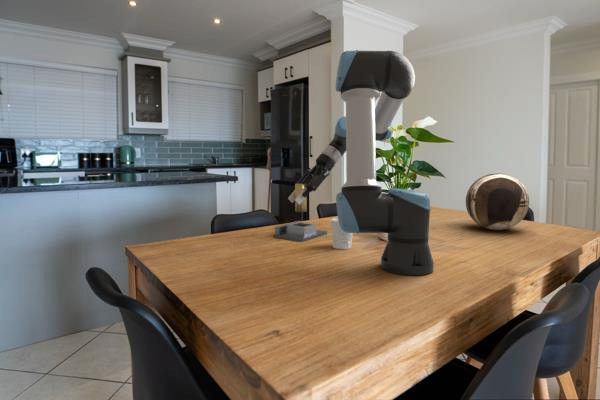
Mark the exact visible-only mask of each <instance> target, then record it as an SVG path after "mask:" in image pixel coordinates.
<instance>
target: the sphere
mask: <svg viewBox="0 0 600 400" xmlns="http://www.w3.org/2000/svg"><path fill="white" fill-rule="evenodd" d="M529 196H530V195H529V192H528V190H527V188H526V187H525V186H524V185H523V183H522V182H521V181H519V180H518V179H517V178H515V177H513V176H511V175H509V174H507V173H506V174H505V173H497V172H496V173H488V174H486V175H484V176H481V177H479V178H478V179H476V180H475V181H473V183H472V184H471V185H470V186H469V189H468V190H467V193H466V196H465V207H466V211H467V213H468V215H469V217H470V218H471V219H472V221H473V222H474V223H476V224H477V225H478V226H479V227H482V228H484V229H486V230H487V229H488V230H491V231H503V230H508V229H511V228H513V227H515V226H517V224H520V223H521V221H523V220H524V218H525V217H526V215H527V213H528V210H529V206H530V197H529Z"/></svg>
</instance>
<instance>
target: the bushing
mask: <svg viewBox="0 0 600 400" xmlns="http://www.w3.org/2000/svg"><path fill="white" fill-rule="evenodd" d="M305 186H308V184H303V183H299V184H296V183H295V185H294V190H295V199H296V198H297V196H298V195H299V194H300V193H301V191H302V190H303V189H304V188H306V187H305ZM306 189H307V188H306ZM307 196H308V195H307ZM307 196H306V198H305V199H304V200H303V201H302V202H301V204H300V205H299V204H298V203H297V202H296V201H294V204H295V205H294V208H295V209H294V211H295V213H306V212H307V211H308V210H307V207H308V206H307V203H308V198H307Z"/></svg>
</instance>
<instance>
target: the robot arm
mask: <svg viewBox="0 0 600 400" xmlns="http://www.w3.org/2000/svg"><path fill="white" fill-rule="evenodd" d="M337 65H338V66H337V71H336V78H335V92H338V93H340V99H341V100H342V101H343V102H344V103H345V116H341V117H340V118H338V120H337V122H336V124H335V129H334V134H333V138H332V140H331V141H330V142H329V144H327V146H326V147H325V148H324V149H323V150H322V151H321V153H320V154H319V155H318V156H317V158H316V159H315V165H314V166H313V167H307V169H306V171H305V172H304V173H303V175H302V176H301V177H299V179H298V180H297V182H296V183H295V184H299V183H303V184H307V186H305V187H306V188H307V189H306V188H304V189H303V190H302V191H301V193H300V194H299V195H298V196H297V198H296V199H295V189H294V190H293V192H291V194H290V195H289V196H288V198H287V200H288V201H290V202H291V204H293V203H295V201H296V202H297V203H298V204H299V205H300V204H301V202H302V201H303V200H304V199H305V198H306V196H308V195H309V194H310V193H312V192H316V191H317V190H318V188H319V187H320V186H321V184H322V183H323V182H324V180H326V178H327V177H328V176H330V174H331V173H330V172H331V171H332V169H333V168H334V167H335V165H336V164H338V163H339V161H340V159H341V158H342V157H343V155H344V154H345V153H346V155H345V158H346V159H345V160H346V161H345V162H346V163H345V164H346V165H345V166H346V173H345V174H346V176H345V177H346V182H345V183H344V184H342V186H341V187H340V188H341V191H340V192H338V193H336V195H335V196H336V197H335V198H336V199H335V200H336V201H335V203H336V213H337V218H338V220H339V224H340V227H341V229H342V230H343V231H344V232H346V233H353V234H356V235H357V234H358V235H359V234H387V240H386V245H385V246H384V249H383V252H382V255H381V257H380V267H381V269H383V270H384V271H386V272H388V273H393V274H397V275H405V276H423V275H428V274H431V273H433V272H434V263H435V262H434V259H433V256H432V252H431V249H430V245H429V237H430V235H429V234H430V216H431V215H430V214H431V210H432V209H431V199H430V198H431V197H430V196H429V195H428V194H427V193H424V192H421V191H417V190H411V189H404V188H394V187H390V188H389V190H388V193H387V192H386V193H385V192H384V193H382V189H383V188H382V185H381V184H379V182H378V181H377V159H376V158H377V156H376V155H377V154H376V149H377V145H376V144H377V143H376V141H377V142H382V141H387V140H386V139H389V138H391V139H392V135H393V131H392V132H391V131H390V130H389V129H388V127H390V126H392V127H393V124H392V122H393V120H394V118H395V117H396V115H397V114H398V111H399V108H400V107H401V104H402V103H403V102H404V100H405V99H406V98H408V96H409V95H410V94H411V93H412V91H413V89H414V86H415V82H416V75H415V73H416V72H415V69H414V66H413V65H412V63H411V61H410V60H409V59H408V58H407V57H406V56H405V55H404V54H402V53H400V52H398V51H394V50H384V51H383V50H358V49H355V50H345V51H343V52H342V53H341V54H340V56H339V61H338V64H337ZM377 100H378V101H377ZM376 101H377V104H376Z"/></svg>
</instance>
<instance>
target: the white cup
mask: <svg viewBox="0 0 600 400" xmlns="http://www.w3.org/2000/svg"><path fill="white" fill-rule="evenodd" d="M330 221H331V222H330V223H331V240H332V248H333V249H335V250H348V249H349V250H350V249H351V248H352V245H353V243H352V242H353V241H352V240H353V235H354V233H346V232H344V231H343V230H342V229H341V227H340V224H339V220H338V217H335V218H331V220H330Z"/></svg>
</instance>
